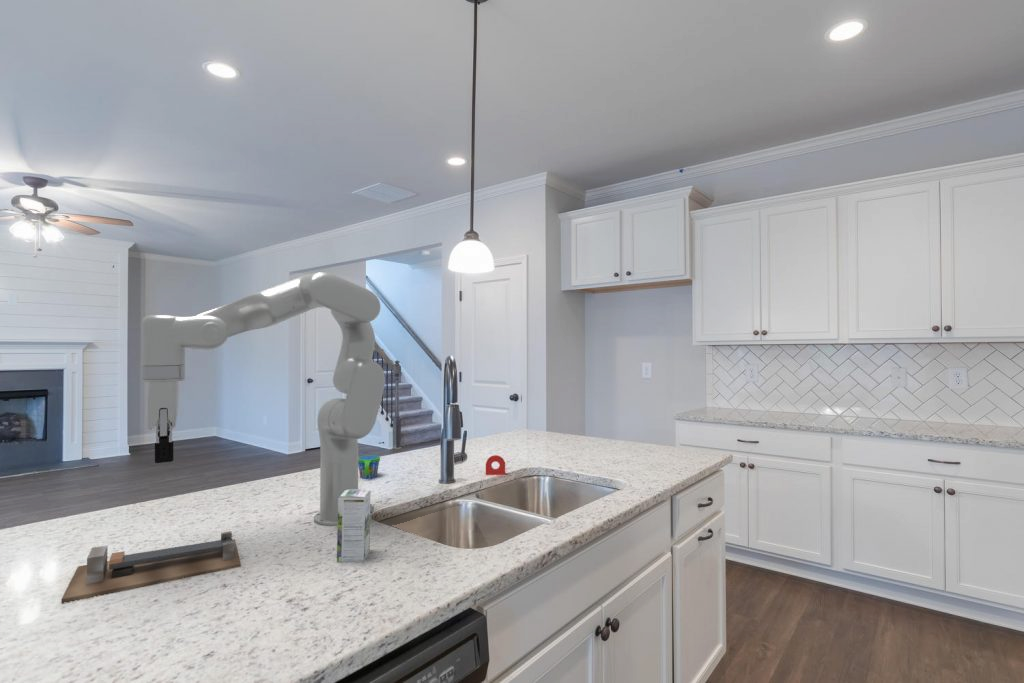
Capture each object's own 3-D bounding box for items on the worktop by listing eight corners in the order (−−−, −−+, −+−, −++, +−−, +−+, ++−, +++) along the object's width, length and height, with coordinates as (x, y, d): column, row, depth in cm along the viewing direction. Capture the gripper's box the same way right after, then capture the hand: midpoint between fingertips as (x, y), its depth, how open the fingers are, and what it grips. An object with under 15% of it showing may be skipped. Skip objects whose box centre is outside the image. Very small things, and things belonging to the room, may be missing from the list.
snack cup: (361, 474, 184) (361, 454, 184) (382, 474, 184) (382, 453, 184) (353, 483, 173) (353, 461, 173) (376, 483, 173) (376, 460, 173)
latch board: (234, 544, 119) (235, 518, 119) (240, 569, 105) (241, 540, 105) (78, 572, 104) (78, 542, 104) (61, 606, 90) (61, 571, 91)
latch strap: (231, 543, 114) (232, 533, 114) (233, 551, 110) (233, 541, 110) (112, 562, 103) (112, 552, 103) (108, 572, 98) (109, 561, 98)
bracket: (484, 481, 176) (485, 457, 176) (485, 477, 181) (485, 455, 181) (519, 481, 176) (520, 458, 176) (520, 478, 181) (520, 455, 181)
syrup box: (343, 555, 113) (343, 489, 113) (370, 554, 113) (370, 488, 113) (336, 566, 107) (336, 496, 107) (365, 565, 108) (365, 495, 108)
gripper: (143, 373, 112) (144, 457, 112) (139, 376, 100) (139, 471, 100) (184, 371, 116) (185, 453, 116) (185, 375, 104) (185, 466, 104)
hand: (164, 461), depth 108 cm, fingers closed
